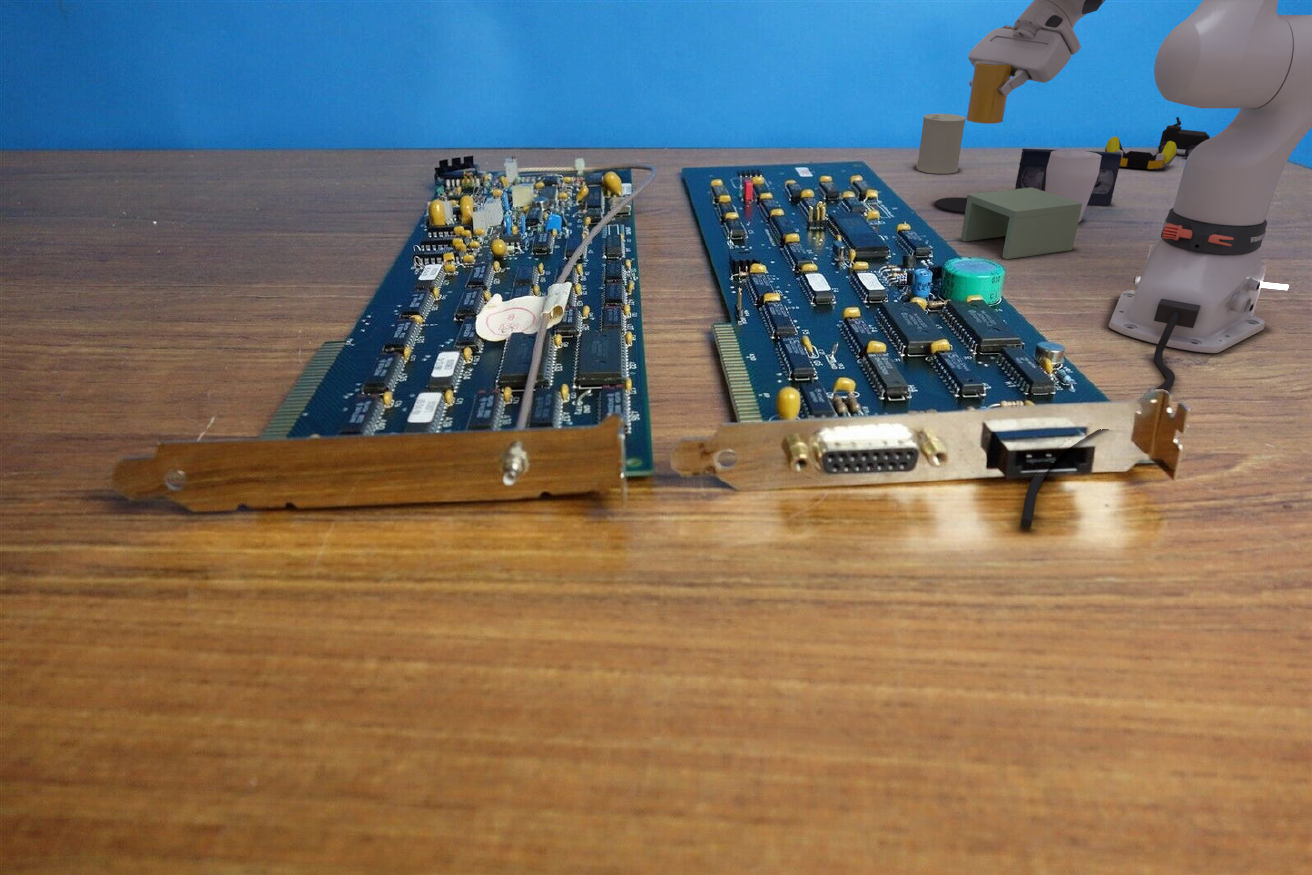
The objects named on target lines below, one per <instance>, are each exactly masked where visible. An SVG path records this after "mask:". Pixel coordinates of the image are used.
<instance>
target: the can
mask: <svg viewBox="0 0 1312 875" xmlns="http://www.w3.org/2000/svg"><path fill="white" fill-rule="evenodd" d="M966 121H967V120H966V117H965V116H963V115H959V114H951V113H928V114H924V115H923V119H922V129H921V135H920V145H919V152H918V158H917V164H916V170H917V171H919V172H923V173H926V174H927V173H928V174H933V175H934V174H935V175H949V174H950V175H951V174H955V173H958V172H959V161H960V155H961V147H962V142H963V135H964V129H965V123H966Z"/></svg>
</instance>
